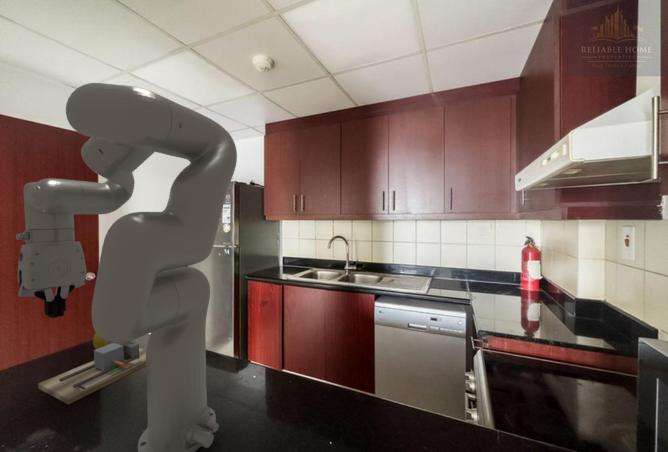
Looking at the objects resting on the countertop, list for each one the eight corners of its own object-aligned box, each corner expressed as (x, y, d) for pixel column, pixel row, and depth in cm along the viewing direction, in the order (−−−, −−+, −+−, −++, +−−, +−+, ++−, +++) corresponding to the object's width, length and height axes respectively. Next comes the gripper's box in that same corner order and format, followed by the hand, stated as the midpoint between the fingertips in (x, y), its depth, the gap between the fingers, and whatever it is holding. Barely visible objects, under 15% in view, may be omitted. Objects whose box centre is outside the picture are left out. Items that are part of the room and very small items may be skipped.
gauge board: (160, 358, 75) (159, 340, 75) (68, 404, 57) (67, 381, 57) (130, 349, 81) (129, 332, 81) (38, 388, 62) (37, 367, 62)
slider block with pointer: (132, 364, 70) (132, 348, 69) (113, 374, 65) (112, 356, 65) (114, 358, 73) (113, 342, 73) (94, 367, 69) (93, 350, 68)
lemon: (122, 348, 82) (121, 323, 81) (105, 357, 76) (104, 330, 76) (106, 347, 82) (105, 322, 82) (88, 356, 77) (87, 330, 76)
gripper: (8, 240, 51) (13, 332, 52) (100, 235, 65) (104, 307, 65) (-8, 239, 54) (-3, 326, 54) (84, 234, 68) (87, 304, 68)
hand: (55, 316), depth 60 cm, fingers closed
